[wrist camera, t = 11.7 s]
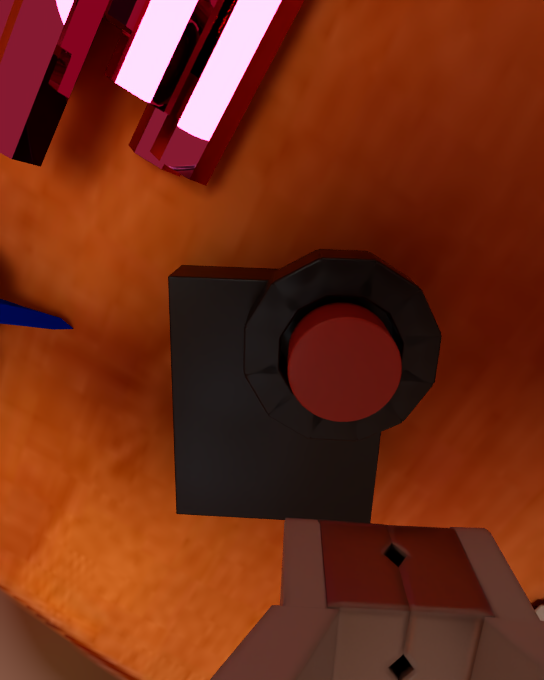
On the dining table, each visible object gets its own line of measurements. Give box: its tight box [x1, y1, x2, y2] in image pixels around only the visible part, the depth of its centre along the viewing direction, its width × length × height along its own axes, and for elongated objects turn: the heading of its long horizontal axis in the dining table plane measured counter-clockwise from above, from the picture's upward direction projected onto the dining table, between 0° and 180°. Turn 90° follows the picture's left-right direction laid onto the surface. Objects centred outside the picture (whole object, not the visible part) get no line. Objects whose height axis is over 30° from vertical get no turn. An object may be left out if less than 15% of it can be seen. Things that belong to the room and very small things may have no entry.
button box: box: [168, 249, 442, 523], centre depth 19 cm, size 9×11×4 cm
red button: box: [287, 302, 402, 422], centre depth 15 cm, size 3×3×2 cm
